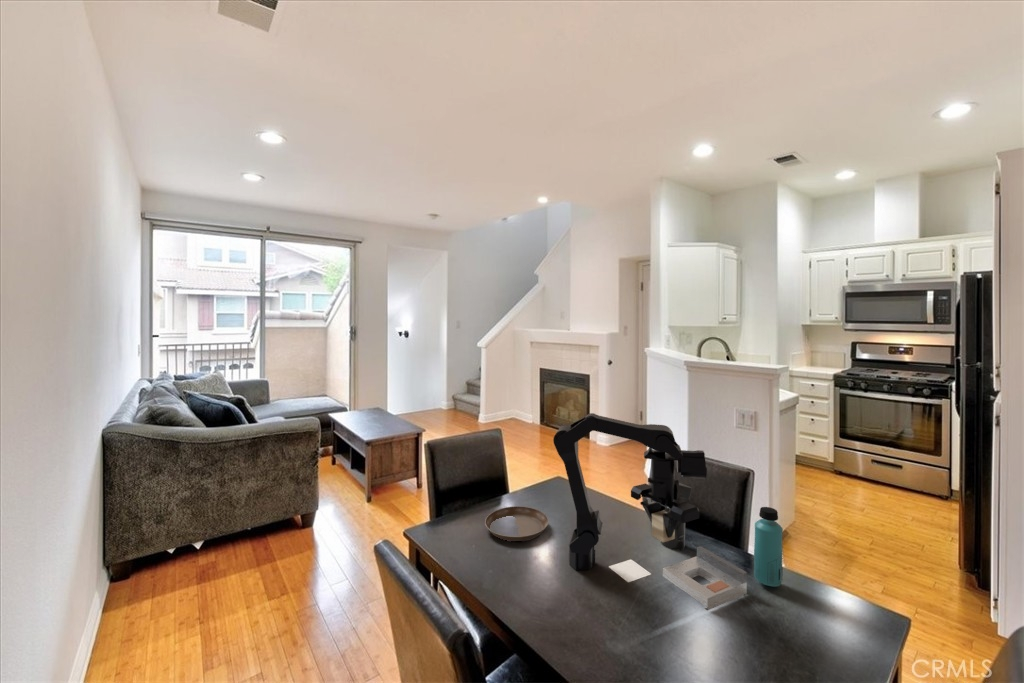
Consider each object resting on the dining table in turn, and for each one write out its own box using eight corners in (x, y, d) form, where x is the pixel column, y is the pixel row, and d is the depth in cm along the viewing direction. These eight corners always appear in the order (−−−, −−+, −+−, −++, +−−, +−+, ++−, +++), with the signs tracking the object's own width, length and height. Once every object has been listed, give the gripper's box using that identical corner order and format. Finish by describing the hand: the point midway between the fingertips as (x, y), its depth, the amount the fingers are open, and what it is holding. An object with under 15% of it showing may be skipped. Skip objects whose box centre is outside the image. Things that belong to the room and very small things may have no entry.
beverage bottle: (782, 595, 109) (784, 517, 108) (751, 587, 113) (753, 511, 112) (782, 582, 115) (784, 507, 114) (753, 574, 118) (755, 501, 117)
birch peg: (663, 542, 113) (663, 519, 113) (651, 535, 117) (651, 513, 116) (674, 538, 115) (674, 516, 114) (663, 532, 118) (663, 510, 118)
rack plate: (707, 610, 104) (707, 588, 104) (662, 578, 117) (663, 558, 116) (746, 593, 110) (747, 572, 110) (700, 565, 123) (700, 546, 123)
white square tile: (628, 585, 114) (628, 582, 114) (608, 569, 121) (608, 566, 121) (651, 577, 118) (651, 574, 118) (631, 562, 125) (631, 559, 125)
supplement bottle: (686, 553, 129) (687, 513, 128) (662, 550, 130) (662, 511, 130) (682, 541, 136) (683, 503, 135) (659, 539, 137) (659, 501, 136)
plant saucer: (503, 552, 131) (503, 542, 130) (474, 524, 149) (474, 514, 148) (560, 535, 141) (560, 525, 140) (527, 510, 159) (527, 501, 158)
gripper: (715, 480, 110) (715, 541, 111) (659, 460, 127) (659, 513, 128) (682, 489, 105) (682, 553, 106) (629, 466, 122) (629, 521, 123)
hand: (663, 533), depth 116 cm, fingers closed on birch peg, 4 cm apart
